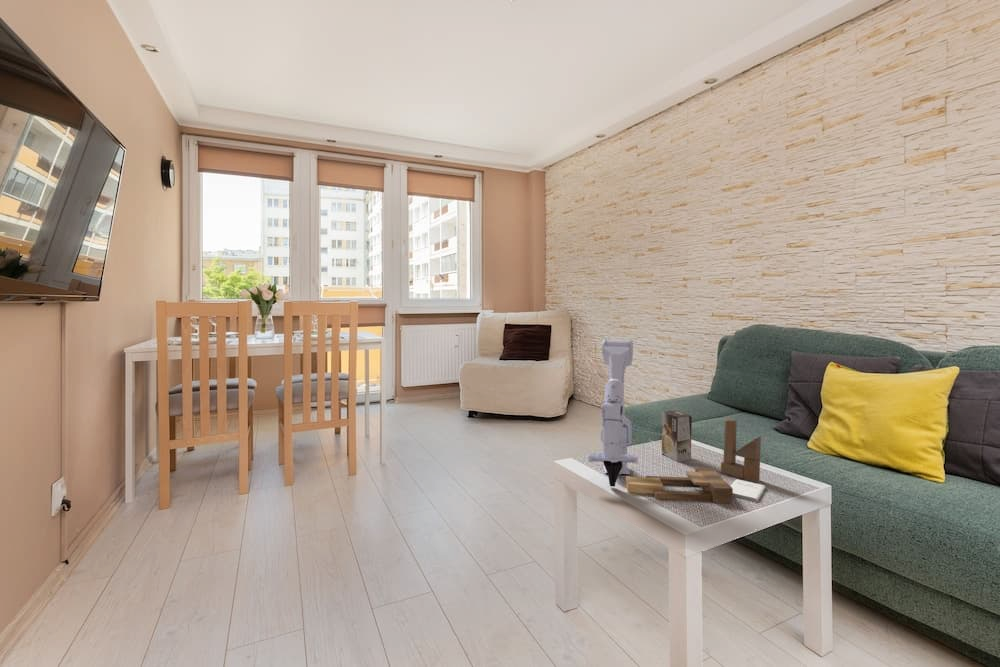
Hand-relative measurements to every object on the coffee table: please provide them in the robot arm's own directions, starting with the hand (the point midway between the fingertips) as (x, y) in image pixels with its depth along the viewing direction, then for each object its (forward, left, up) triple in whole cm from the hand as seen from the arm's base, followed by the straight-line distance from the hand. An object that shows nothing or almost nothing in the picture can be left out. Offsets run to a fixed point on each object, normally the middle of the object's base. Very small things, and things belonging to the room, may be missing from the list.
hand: (612, 485), depth 139 cm
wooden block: (-13, +42, -1) cm, 44 cm away
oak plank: (0, +9, -1) cm, 9 cm away
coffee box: (-31, +27, -1) cm, 41 cm away
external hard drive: (-1, +39, -2) cm, 39 cm away
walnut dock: (0, +21, -1) cm, 21 cm away
